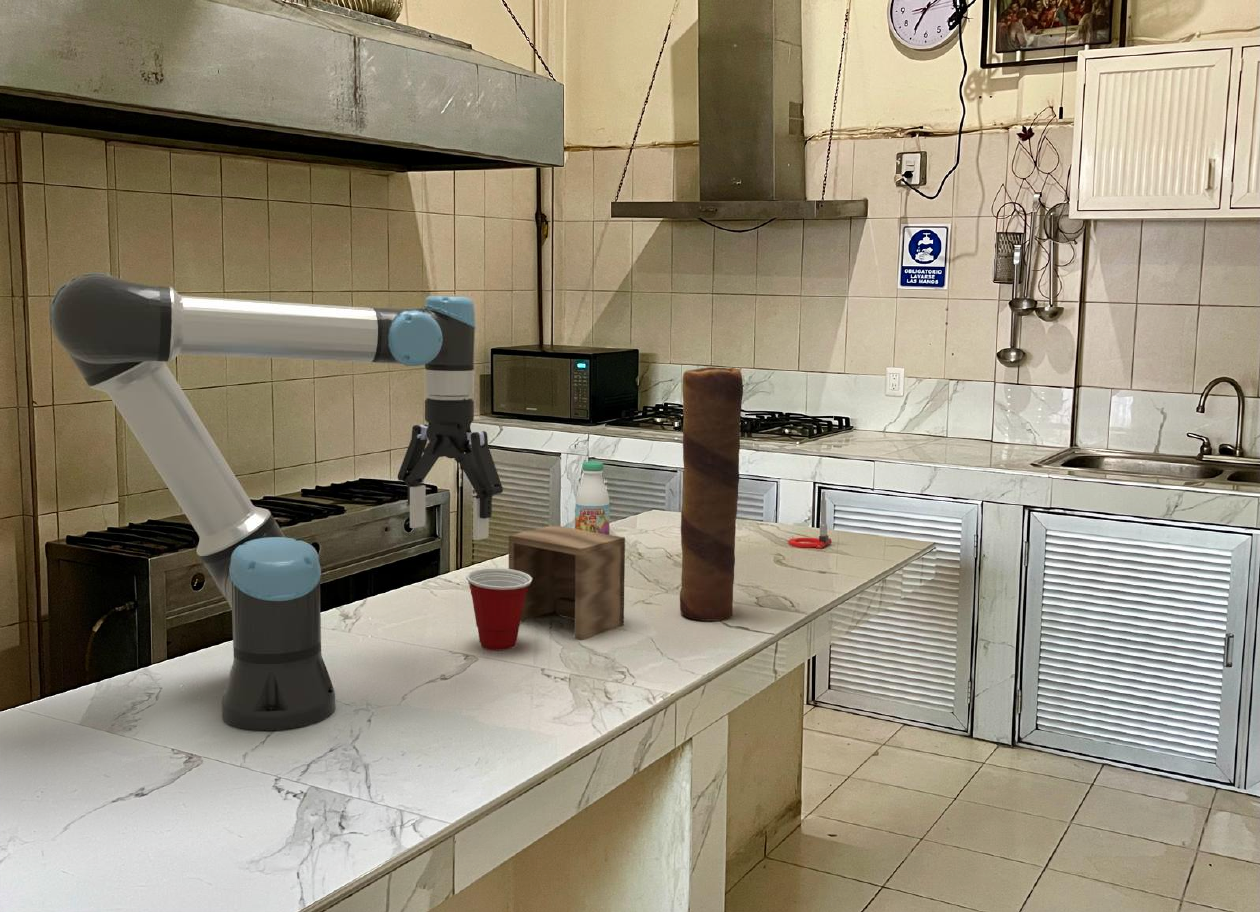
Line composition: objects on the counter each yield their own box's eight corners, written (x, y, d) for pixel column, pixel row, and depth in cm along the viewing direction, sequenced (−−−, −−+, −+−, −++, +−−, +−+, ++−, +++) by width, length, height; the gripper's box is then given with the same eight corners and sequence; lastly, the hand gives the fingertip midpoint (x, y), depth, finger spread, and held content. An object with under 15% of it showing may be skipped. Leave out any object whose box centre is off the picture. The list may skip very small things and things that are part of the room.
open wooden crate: (580, 640, 203) (581, 548, 201) (508, 622, 213) (508, 535, 211) (623, 624, 213) (625, 537, 210) (553, 608, 223) (553, 525, 220)
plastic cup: (502, 660, 192) (502, 586, 190) (452, 647, 198) (452, 576, 197) (545, 644, 201) (546, 573, 199) (496, 632, 207) (496, 564, 205)
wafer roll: (729, 625, 213) (736, 370, 207) (671, 619, 217) (676, 368, 210) (743, 611, 223) (750, 367, 217) (688, 605, 226) (693, 365, 220)
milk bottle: (571, 547, 274) (571, 460, 272) (603, 545, 277) (604, 459, 274) (579, 554, 267) (580, 465, 264) (613, 553, 269) (614, 464, 267)
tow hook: (782, 547, 280) (820, 550, 276) (782, 492, 279) (820, 494, 274) (796, 541, 287) (833, 544, 283) (795, 487, 286) (833, 489, 281)
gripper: (527, 401, 182) (524, 540, 185) (410, 390, 196) (409, 518, 199) (493, 404, 176) (491, 547, 179) (375, 392, 190) (375, 525, 193)
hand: (448, 532), depth 189 cm, fingers open, 13 cm apart
